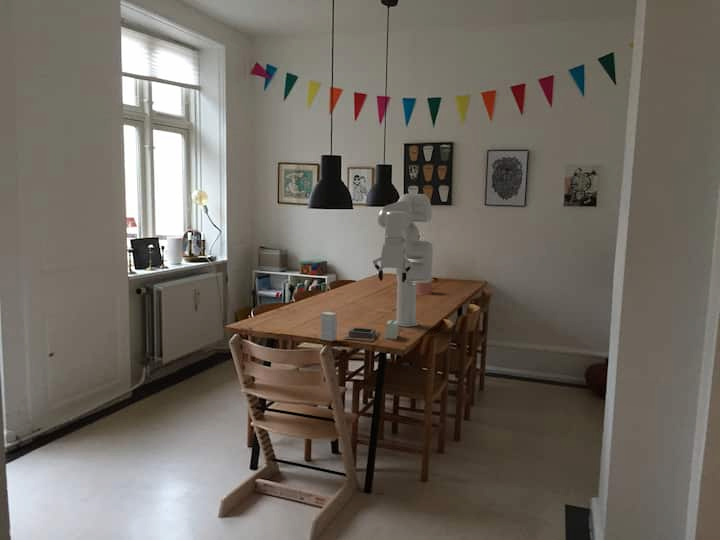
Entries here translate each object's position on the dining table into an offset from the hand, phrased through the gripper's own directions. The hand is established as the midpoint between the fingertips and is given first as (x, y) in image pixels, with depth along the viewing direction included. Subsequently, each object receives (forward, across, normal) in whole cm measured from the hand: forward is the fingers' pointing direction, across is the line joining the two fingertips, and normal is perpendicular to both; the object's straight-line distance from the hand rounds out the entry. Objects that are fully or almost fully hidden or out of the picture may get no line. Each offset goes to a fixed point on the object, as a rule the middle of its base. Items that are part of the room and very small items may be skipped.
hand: (392, 281), depth 245 cm
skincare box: (+28, +28, 0) cm, 39 cm away
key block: (+28, +2, -14) cm, 31 cm away
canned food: (+28, +2, -138) cm, 140 cm away
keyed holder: (+28, +14, -10) cm, 33 cm away
